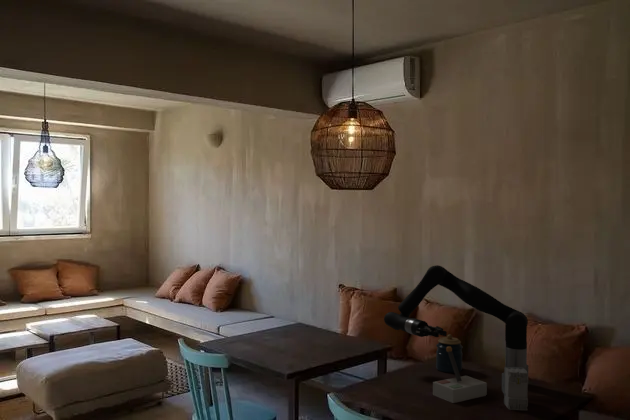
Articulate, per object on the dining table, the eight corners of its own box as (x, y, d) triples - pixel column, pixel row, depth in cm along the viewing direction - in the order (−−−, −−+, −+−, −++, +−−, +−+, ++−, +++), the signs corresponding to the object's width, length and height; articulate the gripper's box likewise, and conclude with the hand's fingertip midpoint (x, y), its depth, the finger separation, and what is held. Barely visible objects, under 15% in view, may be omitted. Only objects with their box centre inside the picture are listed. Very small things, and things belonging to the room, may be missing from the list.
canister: (436, 372, 281) (437, 336, 281) (435, 365, 294) (435, 330, 294) (463, 374, 279) (464, 337, 279) (461, 366, 292) (461, 332, 291)
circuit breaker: (518, 398, 244) (519, 363, 244) (527, 410, 230) (528, 373, 230) (500, 397, 245) (501, 362, 244) (508, 409, 230) (509, 372, 230)
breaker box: (465, 387, 257) (466, 374, 257) (486, 395, 247) (486, 382, 247) (432, 394, 247) (433, 381, 247) (453, 403, 237) (453, 389, 237)
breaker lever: (459, 381, 249) (448, 346, 255) (463, 380, 247) (452, 345, 253) (455, 382, 247) (444, 347, 253) (459, 381, 245) (447, 345, 251)
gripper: (405, 320, 267) (430, 327, 253) (427, 318, 275) (453, 324, 260) (404, 336, 267) (430, 344, 253) (427, 333, 275) (453, 341, 260)
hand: (442, 334), depth 256 cm, fingers open, 4 cm apart
